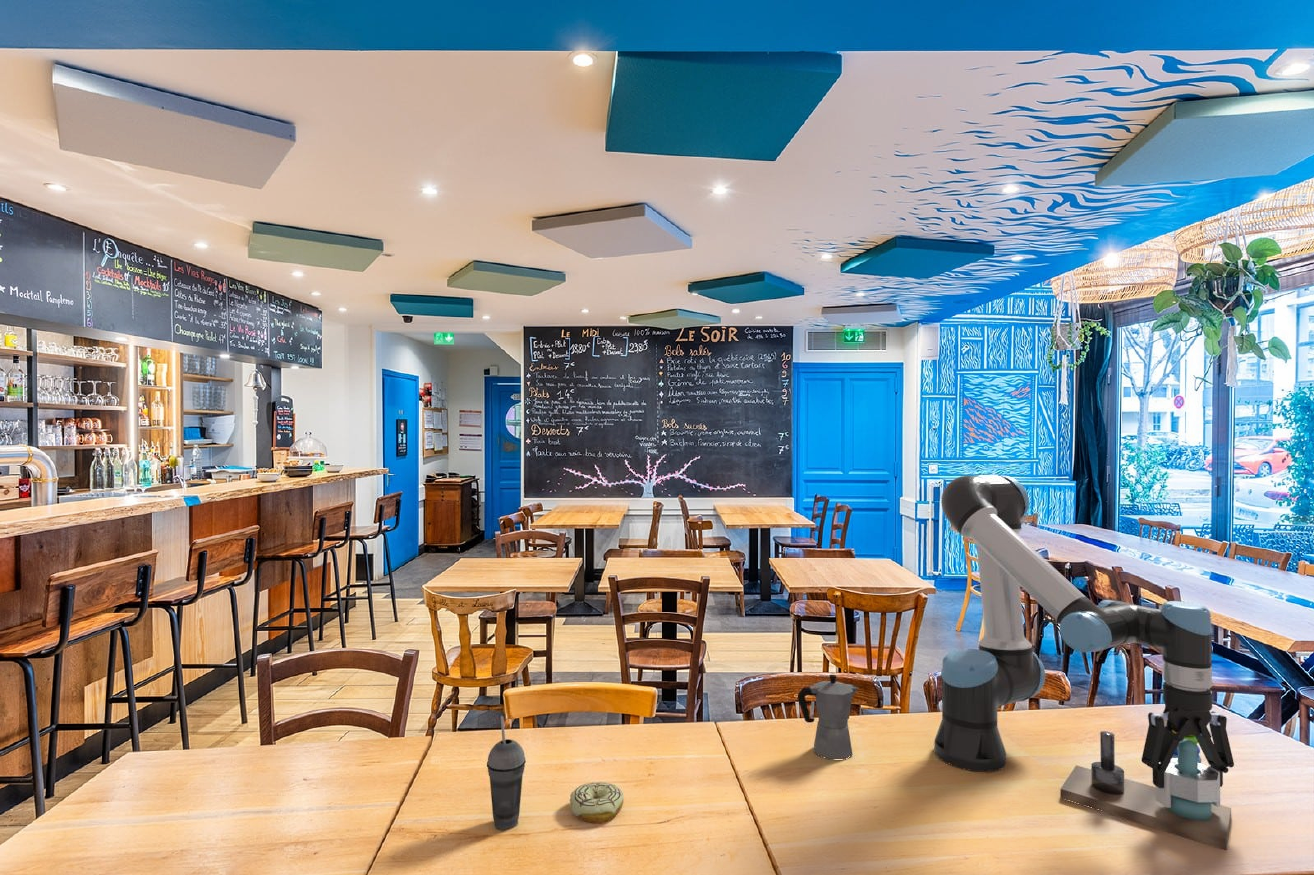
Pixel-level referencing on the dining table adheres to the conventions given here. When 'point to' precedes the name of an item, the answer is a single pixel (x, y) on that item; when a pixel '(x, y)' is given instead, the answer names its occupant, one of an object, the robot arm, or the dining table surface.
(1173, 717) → the robot arm
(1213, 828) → the walnut board
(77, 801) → the dining table surface
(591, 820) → the decorated donut
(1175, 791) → the steel ring
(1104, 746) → the stand rod
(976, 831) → the dining table surface
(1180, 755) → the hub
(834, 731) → the coffeepot
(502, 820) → the beverage cup
